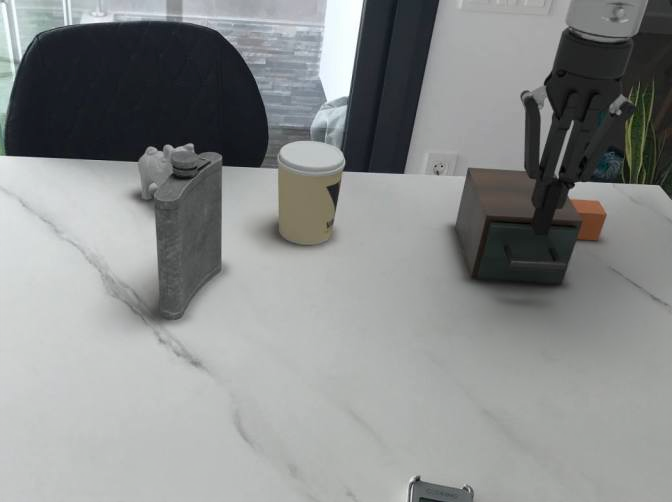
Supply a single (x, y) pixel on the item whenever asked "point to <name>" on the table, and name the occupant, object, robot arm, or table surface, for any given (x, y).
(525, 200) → the cabinet
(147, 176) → the dog figurine
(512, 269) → the drawer
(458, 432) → the table surface
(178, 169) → the flask
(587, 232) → the block
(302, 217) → the coffee cup
